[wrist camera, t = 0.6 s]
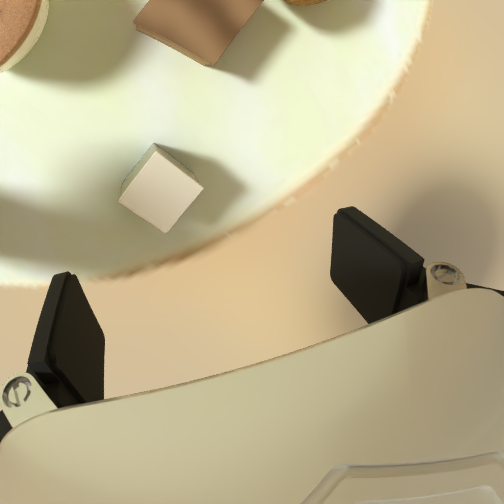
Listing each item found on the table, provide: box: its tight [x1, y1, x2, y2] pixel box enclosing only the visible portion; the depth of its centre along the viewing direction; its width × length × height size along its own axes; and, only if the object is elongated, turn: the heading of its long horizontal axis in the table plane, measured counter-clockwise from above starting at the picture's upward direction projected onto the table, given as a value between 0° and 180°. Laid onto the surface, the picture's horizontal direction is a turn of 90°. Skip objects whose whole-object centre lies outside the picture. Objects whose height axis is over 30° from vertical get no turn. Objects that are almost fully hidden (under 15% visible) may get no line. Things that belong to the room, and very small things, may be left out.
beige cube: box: [119, 143, 204, 233], centre depth 33 cm, size 6×6×6 cm
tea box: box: [133, 0, 264, 66], centre depth 25 cm, size 9×9×5 cm
